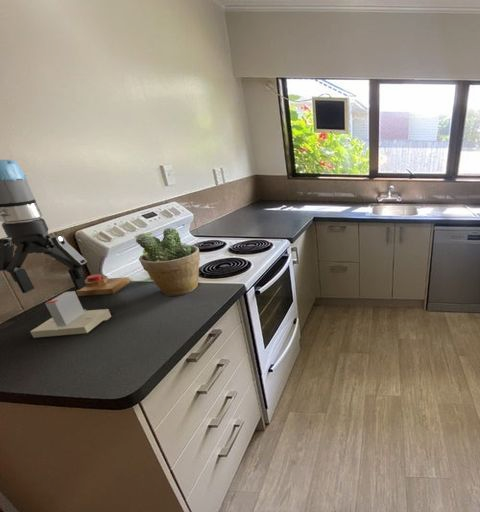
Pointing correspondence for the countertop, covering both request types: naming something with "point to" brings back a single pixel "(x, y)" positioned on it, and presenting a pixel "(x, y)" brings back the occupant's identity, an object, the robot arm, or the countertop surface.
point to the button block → (103, 286)
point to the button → (94, 277)
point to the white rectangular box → (65, 308)
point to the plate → (72, 324)
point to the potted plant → (170, 262)
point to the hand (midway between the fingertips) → (55, 289)
